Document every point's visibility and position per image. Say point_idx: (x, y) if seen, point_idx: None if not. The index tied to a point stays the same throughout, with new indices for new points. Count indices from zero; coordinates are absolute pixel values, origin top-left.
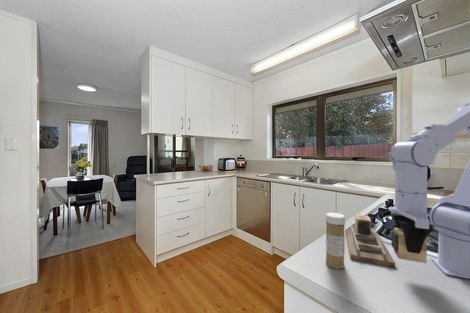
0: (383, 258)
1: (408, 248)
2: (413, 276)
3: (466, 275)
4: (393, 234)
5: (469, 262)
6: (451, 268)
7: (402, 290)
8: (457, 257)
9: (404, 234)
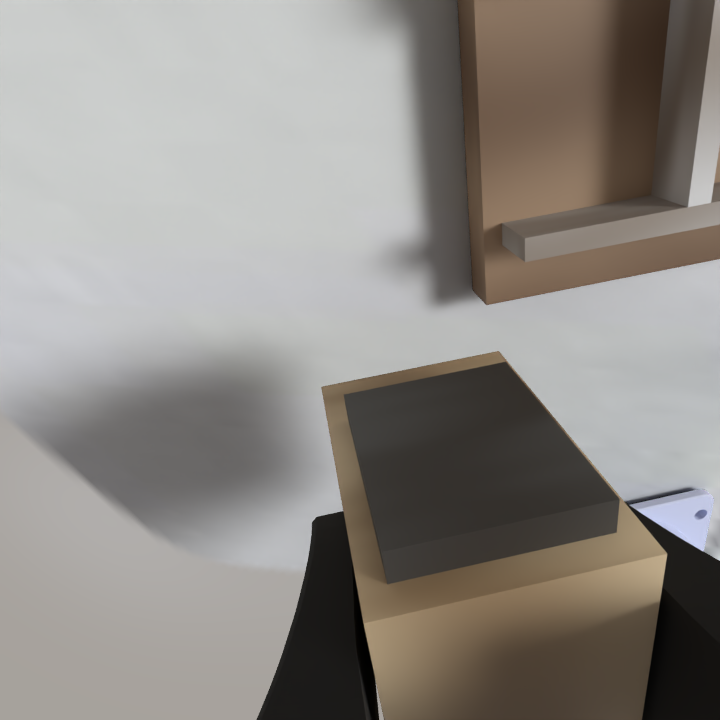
0: (520, 221)
1: (310, 551)
2: None
3: None
4: (474, 500)
5: None
6: None
7: (133, 321)
8: None
9: (314, 694)
